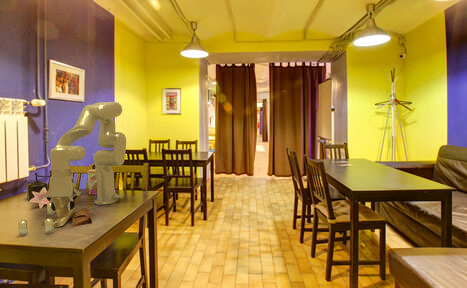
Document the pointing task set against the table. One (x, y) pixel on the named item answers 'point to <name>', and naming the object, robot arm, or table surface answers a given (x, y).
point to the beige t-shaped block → (61, 211)
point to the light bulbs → (48, 222)
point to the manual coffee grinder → (36, 186)
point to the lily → (40, 198)
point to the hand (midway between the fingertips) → (63, 209)
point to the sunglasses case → (81, 218)
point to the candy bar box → (92, 182)
